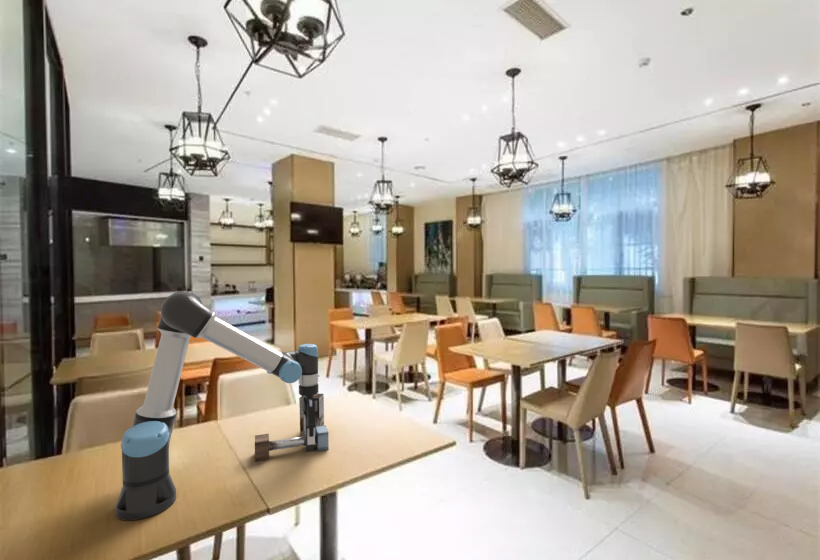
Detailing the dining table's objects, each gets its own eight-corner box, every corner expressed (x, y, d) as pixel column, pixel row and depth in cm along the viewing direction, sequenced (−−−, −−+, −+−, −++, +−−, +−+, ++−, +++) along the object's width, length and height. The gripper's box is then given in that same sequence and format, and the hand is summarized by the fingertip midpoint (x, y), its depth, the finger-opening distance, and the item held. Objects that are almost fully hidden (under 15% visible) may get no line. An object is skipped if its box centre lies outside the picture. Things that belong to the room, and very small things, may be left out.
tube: (264, 458, 145) (264, 424, 145) (264, 452, 150) (264, 419, 150) (324, 448, 153) (323, 416, 153) (322, 443, 158) (322, 411, 157)
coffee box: (324, 429, 172) (324, 393, 172) (319, 435, 166) (319, 398, 165) (304, 428, 173) (304, 392, 173) (299, 434, 167) (298, 397, 166)
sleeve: (269, 459, 145) (269, 440, 145) (254, 461, 143) (254, 443, 143) (269, 451, 151) (268, 433, 151) (255, 453, 150) (255, 435, 149)
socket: (328, 449, 153) (328, 431, 153) (318, 451, 151) (318, 433, 151) (325, 442, 159) (325, 425, 159) (315, 443, 158) (315, 426, 158)
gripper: (322, 391, 143) (323, 448, 143) (314, 374, 166) (314, 423, 166) (301, 394, 140) (302, 452, 140) (296, 376, 163) (296, 426, 164)
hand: (309, 437), depth 153 cm, fingers open, 13 cm apart
